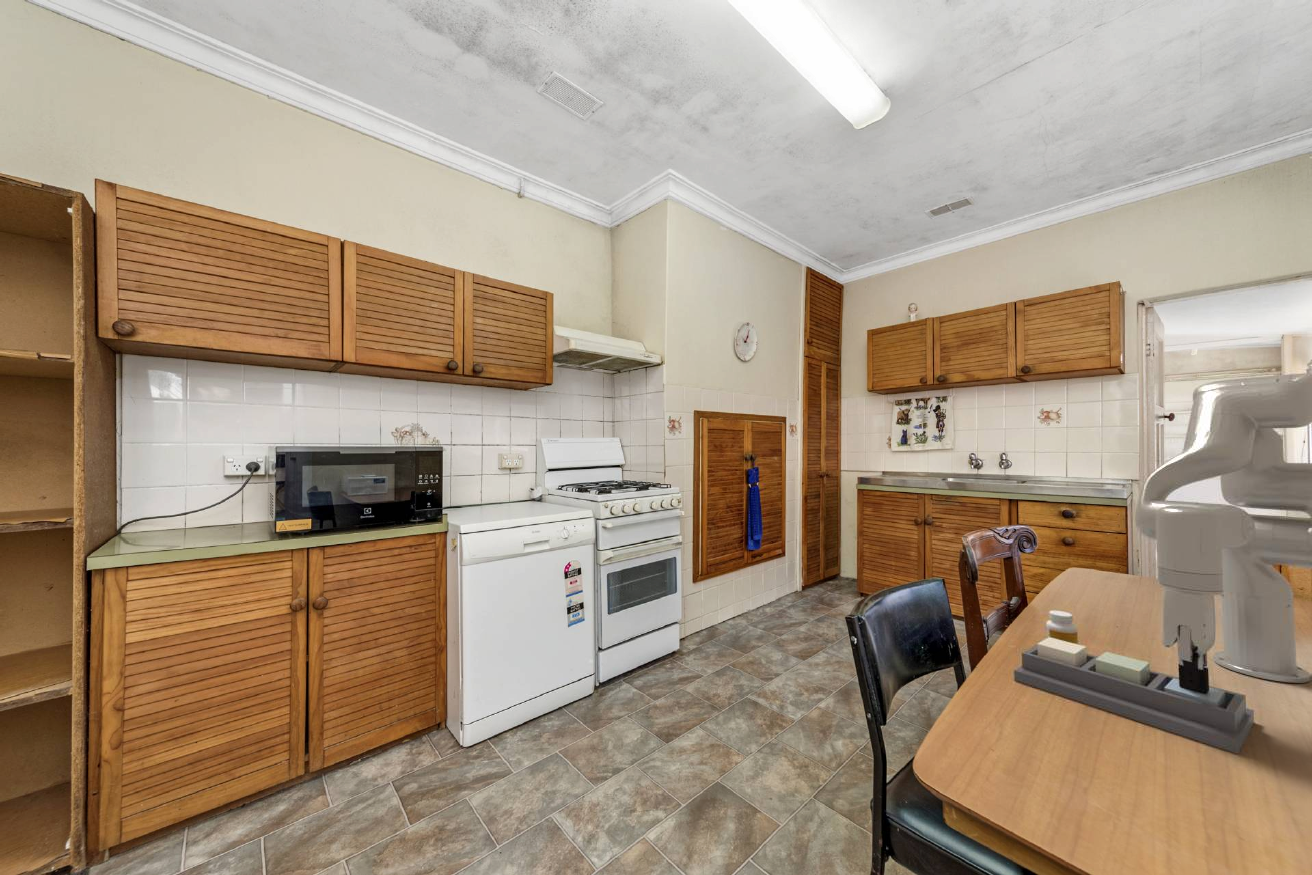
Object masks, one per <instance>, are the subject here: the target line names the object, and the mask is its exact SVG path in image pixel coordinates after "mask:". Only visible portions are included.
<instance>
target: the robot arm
mask: <svg viewBox="0 0 1312 875" xmlns="http://www.w3.org/2000/svg"><path fill="white" fill-rule="evenodd" d="M1188 420H1189V421H1188V425H1187V429H1186V430H1187V431H1186V435H1185V440H1184V444H1183V449H1182V451H1181V453H1179V454H1178V455H1175V456H1174V457H1172V458H1170V459H1169V460H1167V461H1166V462H1164V463H1163V464H1161V465H1160V466H1158V467H1157V468H1156V469H1155V470H1154V471H1152V472H1151V474H1149V475H1148V476H1147V478H1146V479H1144V481H1143V484H1142V485H1141V488H1140V492H1139V496H1138V499H1137V504H1136V509H1135V516H1134V517H1135V518H1134V519H1135V525H1136V528H1137V530H1138V532H1139V533H1140V534H1141V535H1142V536H1143V537H1146V538H1148V539H1151V540H1155V541H1156V556H1157V557H1156V559H1157V560H1156V561H1157V563H1156V564H1157V584H1158V586H1159V587H1161V588H1163V589H1164V592H1163V600H1162V601H1163V602H1162V603H1163V604H1162V637H1161V638H1162V640H1161V641H1162V645H1163V646H1164V647H1165V648H1170V647H1173V645H1175V644H1177V654H1178V655H1177V658H1178V664H1177V666H1178V667H1177V668H1178V678H1179V686H1180V687H1181V688H1184V689H1187V690H1191V691H1194V692H1198V693H1202V694H1207V693H1208V691H1209V686H1210V681H1209V680H1210V679H1209V678H1210V677H1209V676H1210V675H1209V667H1208V652H1209V650H1211V649H1212V648H1213V646H1214V645H1215V642H1216V631H1217V630H1216V628H1217V627H1216V608H1215V607H1216V605H1215V604H1216V603H1215V596H1219V595H1220V597H1221V598H1220V600H1221V601H1220V602H1221V621H1222V622H1221V623H1222V625H1221V626H1222V642H1223V646H1222V647H1223V650H1222V651H1216V652H1214V653H1212V660H1213V661H1214V663H1216V664H1217V665H1219V666H1221V667H1224V668H1226V669H1228V670H1231V671H1233V672H1237V673H1240V674H1243V675H1246V676H1250V677H1254V678H1259V679H1264V680H1268V681H1273V682H1282V683H1292V684H1294V683H1295V684H1303V683H1307V682H1309V681H1311V675H1310V673H1309V672H1308V670H1306V669H1304V668H1302V667H1300V666H1298V664H1297V648H1296V627H1295V625H1296V624H1295V623H1296V622H1295V607H1294V606H1295V603H1294V591H1293V587H1292V585H1291V583H1290V581H1288V580H1287V578H1286V577H1285V576H1284V575H1283V574H1282V573H1280V571H1279V570H1277V568H1275V567H1274V566H1273V565H1277V566H1288V567H1296V568H1302V569H1303V568H1305V569H1311V570H1312V462H1311V463H1310V462H1286V461H1285V458H1284V440H1283V438H1282V436H1281V435H1280V433H1278V432H1277V431H1276V430H1275V429H1295V428H1297V429H1298V428H1303V427H1307V426H1309V425H1310V424H1311V423H1312V373H1311V372H1309V373H1308V372H1307V373H1306V372H1303V373H1294V374H1293V373H1291V374H1279V375H1268V376H1255V377H1243V378H1231V379H1224V380H1223V379H1222V380H1216V381H1215V380H1214V381H1211V382H1207V383H1204V384H1200V385H1198V386H1197V387H1196V388H1195V389H1194V390H1193V392H1192V407H1191V411H1190V416H1189V419H1188ZM1217 477H1220V490H1221V495H1222V497H1223V499H1224V501H1225V502H1226V503H1228V504H1222V503H1208V502H1195V501H1183V500H1182V501H1180V500H1178V501H1177V500H1167V498H1168V497H1169V496H1170V495H1171V494H1172V493H1173V492H1174V491H1176V490H1179V489H1180V488H1182V487H1185V486H1187V485H1190V484H1193V483H1197V482H1202V481H1204V480H1208V479H1209V480H1210V479H1213V478H1217ZM1243 508H1248V509H1260V510H1273V511H1274V510H1275V511H1290V512H1302V513H1306V514H1307V515H1308V516H1309V517H1310V518H1299V517H1297V518H1296V517H1285V516H1284V517H1283V516H1275V515H1274V516H1273V515H1261V514H1258V515H1257V514H1249V513H1248V512H1247V511H1246V510H1245V509H1243Z"/></svg>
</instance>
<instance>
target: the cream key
mask: <svg viewBox="0 0 1312 875" xmlns="http://www.w3.org/2000/svg"><path fill="white" fill-rule="evenodd" d="M1036 645H1037V650H1038V656H1040V657H1044V658H1047V659H1051V660H1055V661H1058V662H1062V663H1065V664H1069V665H1072V666H1076V667H1080V666H1082V665H1083V664H1084V663H1086V662H1087V658H1086V653H1087V646H1085V645H1082V644H1079V643H1078V644H1074V643H1070V642H1066V641H1062V640H1058V639H1054V638H1050V637H1048V638H1047V639H1046V638H1044V639H1043V640H1042V641H1040V642H1038V643H1037V644H1036Z"/></svg>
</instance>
